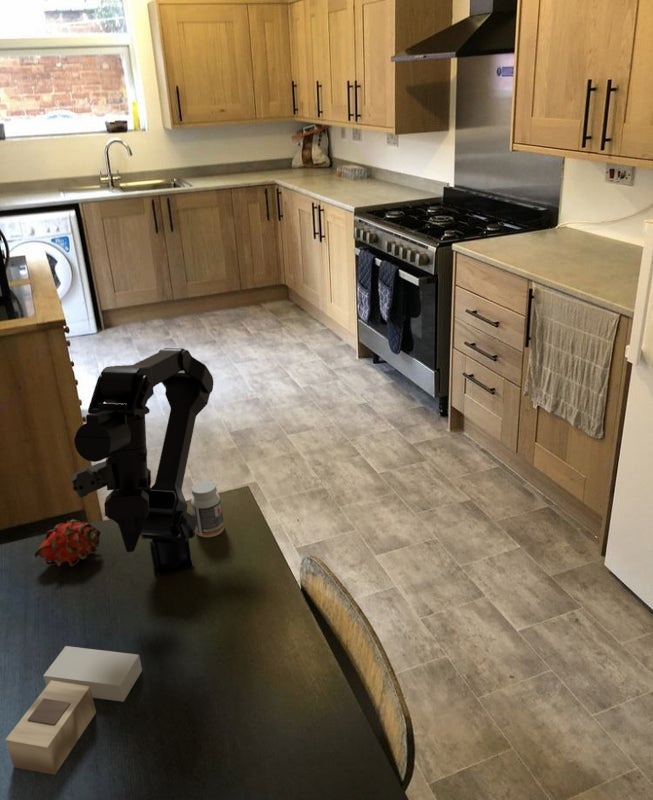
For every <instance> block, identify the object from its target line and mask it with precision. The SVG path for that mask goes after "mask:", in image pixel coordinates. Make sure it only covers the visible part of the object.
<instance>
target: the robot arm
mask: <svg viewBox="0 0 653 800" xmlns="http://www.w3.org/2000/svg"><path fill="white" fill-rule="evenodd" d="M159 384H162V385H163V387H164V388H165V392H164V395H165V398H166V400H167V402H168V405H169V407H170V413H169V415H168V416H169V417H168V421H167V425H166V429H165V430H166V431H165V434H164V439H163V443H162V448H161V452H160V459H159V462H158V467H157V471H156V476H155V481H154V483H153V485H152V474H151V473H152V471H151V470H150V469H149V468H148V448H147V429H146V415H149V413H150V411H151V409H150V408H149V407H148V406H147V404H148V400H149V399H150V398H151V397H152V396H153V395H154V394H155V393H154V388H155V387H156V386H157V385H159ZM213 389H214V377H213V375H212V373H211V371H210V370H209V368H208V367H207V365H206V364H204V363H203V362H201V361H199V360H198V359H196V358H195V357H194V356H192V354H191V353H190V351H189V350H188V349H185V348H178V347H177V348H175V347H166V348H165V347H164V348H162V349H159V350H158V352H157V353H154V354H152V355H150V356H148V357H146V358H144V359H142V360H140V361H137V362H136V363H134V364H129V365H127V364H125V365H113V366H106V367H105V368H103V369H102V370H101V372H100V374H99V376H98V378H97V380H96V384H95V387H94V390H93V393H92V396H91V399H90V402H89V406H88V410H87V413H88V414H86V416H85V423H84V424H82V425H80V427H79V428H78V429H77V431H76V433H75V437H74V440H73V443H74V447H75V450H76V451H77V453H78V455H80V456H81V457H82V458H83V459H84V460H86V461H88V462H92V463H96V462H98V463H96V464H93V465H91V466H88V467H85V468H82V469H80V470H77V471H76V472H74V473H73V475H72V476H71V478H70V481H71V483H72V485H73V486H72V490H73V491H75V492H76V494H77V496H78V498H80V499H81V498H84V497H86V496H88V494H91V493H93V492H95V491H98V490H100V489H103V488H106V490H107V491H111V492H110V493H109V494H108V495H107V496H106V497H105V500H104V505H103V507H104V517H106V518H107V519H109V520H111V521H113V522H115V523H116V524H117V526H118V528H119V531H120V535H121V537H122V540H123V545H124V547H125V550H126V552H127V553H134V552H135V550H136V547H137V544H138V542H139V540H140V539H139V538H140V537H141V538H142V540H150V541H148V542H149V549H150V554H151V561H152V567H153V568H154V569H155V568H156V574H157V576H163V575H167V574H172V573H176V572H181V571H185V570H190V569H192V568H194V567H195V566H194V565H195V564H194V562H193V557H192V553H191V547H190V541H189V540H190V539H192V538H194V537H195V536H196V531H195V528H196V518H195V517H194V516H193V514H190V513H189V512H188V503H187V500H186V498H185V495H184V493H183V491H182V488H183V484H184V479H185V474H186V469H187V464H188V458H189V454H190V450H191V449H190V448H191V443H192V439H193V434H194V429H195V428H194V427H195V423H196V418H197V416H198V415H199V414H200V412H202V410H203V409H204V408H205V407H206V406H207V405H208V402H209V399H210V395H211V393H212V392H213ZM102 460H105V461H102ZM101 461H102V462H101Z"/></svg>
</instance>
